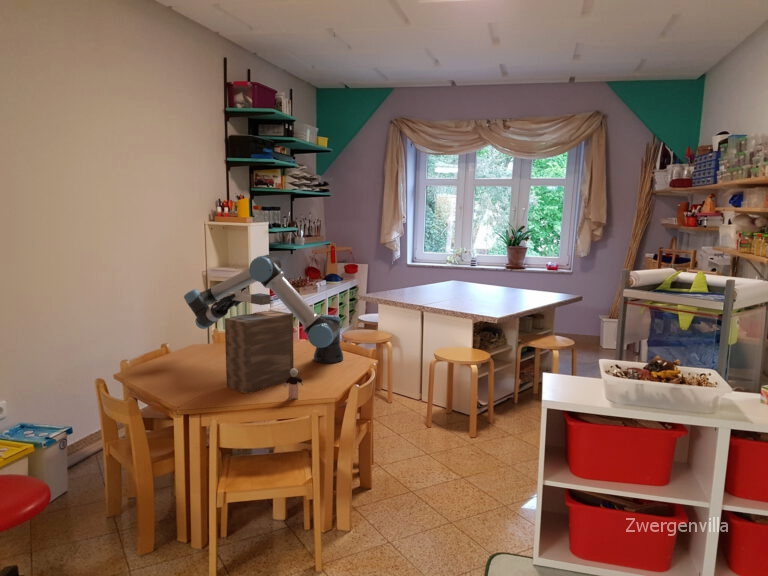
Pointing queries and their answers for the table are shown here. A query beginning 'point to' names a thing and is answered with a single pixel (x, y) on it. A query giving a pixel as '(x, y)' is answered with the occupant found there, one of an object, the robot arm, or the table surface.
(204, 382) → the table surface
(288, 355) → the walnut shelf
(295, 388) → the grandmother figurine
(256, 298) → the bar
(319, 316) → the robot arm
